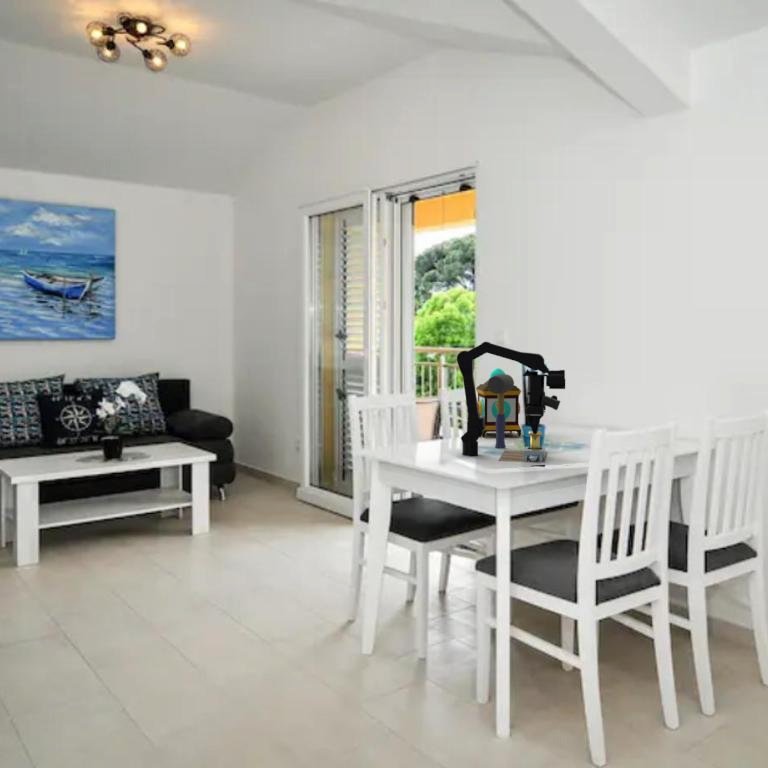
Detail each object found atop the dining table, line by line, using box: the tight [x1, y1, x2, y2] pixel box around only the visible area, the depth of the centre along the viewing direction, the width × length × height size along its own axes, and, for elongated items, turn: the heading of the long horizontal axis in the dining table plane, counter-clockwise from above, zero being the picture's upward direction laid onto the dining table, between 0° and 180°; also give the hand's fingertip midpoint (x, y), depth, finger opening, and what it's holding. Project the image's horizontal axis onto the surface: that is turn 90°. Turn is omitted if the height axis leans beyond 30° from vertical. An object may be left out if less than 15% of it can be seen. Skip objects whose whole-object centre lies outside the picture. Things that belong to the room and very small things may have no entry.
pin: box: [528, 430, 543, 450], centre depth 278 cm, size 5×5×9 cm
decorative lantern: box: [475, 367, 522, 439], centre depth 345 cm, size 20×20×30 cm
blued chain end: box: [523, 446, 546, 463], centre depth 274 cm, size 15×7×3 cm, turn 166°
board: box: [497, 449, 548, 467], centre depth 279 cm, size 24×16×2 cm, turn 166°
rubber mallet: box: [487, 373, 515, 449], centre depth 298 cm, size 12×8×30 cm, turn 152°
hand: (535, 432), depth 277 cm, fingers open, 9 cm apart
